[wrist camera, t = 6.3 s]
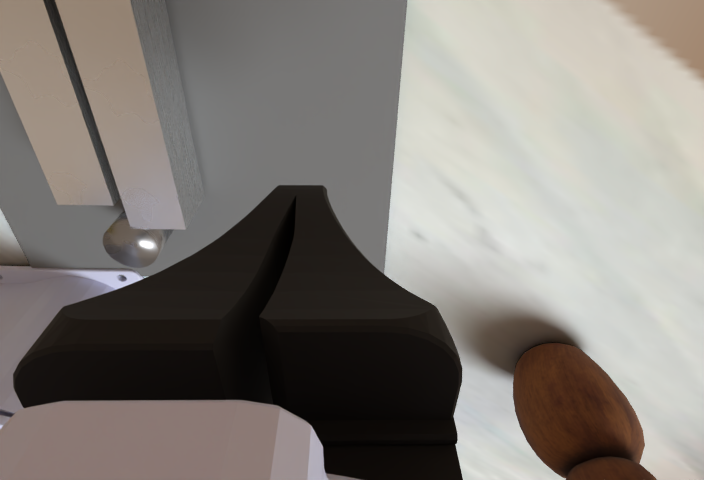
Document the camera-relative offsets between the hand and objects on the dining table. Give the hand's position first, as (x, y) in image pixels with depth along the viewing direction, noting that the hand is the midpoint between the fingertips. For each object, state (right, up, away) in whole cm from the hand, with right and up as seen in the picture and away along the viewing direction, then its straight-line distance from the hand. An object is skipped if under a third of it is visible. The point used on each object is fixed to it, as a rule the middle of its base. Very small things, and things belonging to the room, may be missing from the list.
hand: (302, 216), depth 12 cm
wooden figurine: (+15, -9, +18) cm, 25 cm away
